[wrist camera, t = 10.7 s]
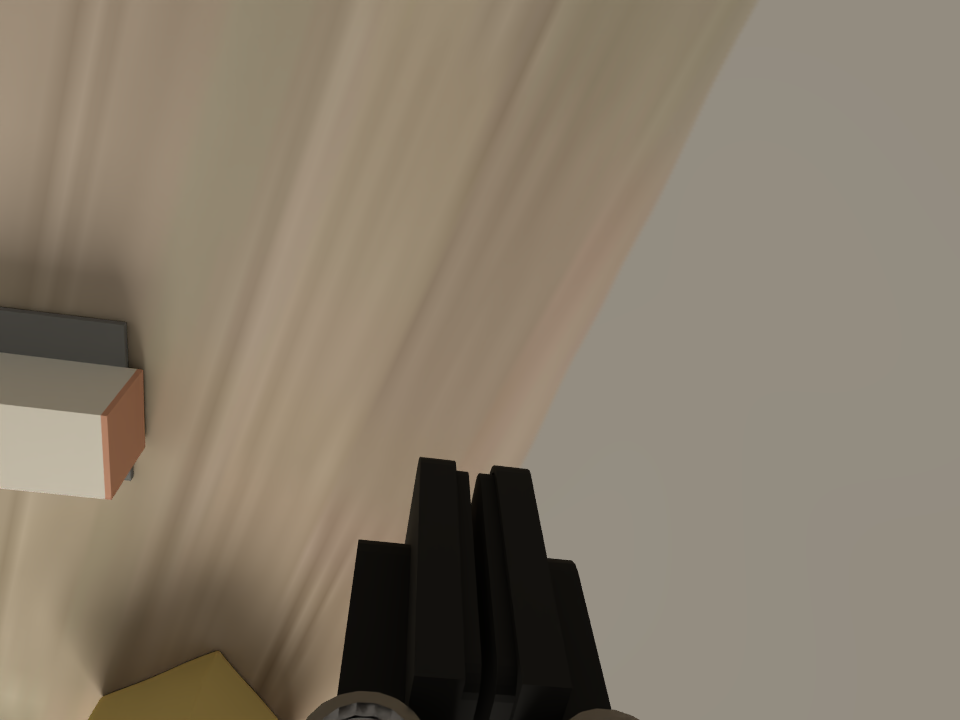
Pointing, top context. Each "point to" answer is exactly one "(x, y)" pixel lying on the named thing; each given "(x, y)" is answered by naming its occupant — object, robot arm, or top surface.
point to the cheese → (187, 695)
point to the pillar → (68, 425)
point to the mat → (64, 338)
